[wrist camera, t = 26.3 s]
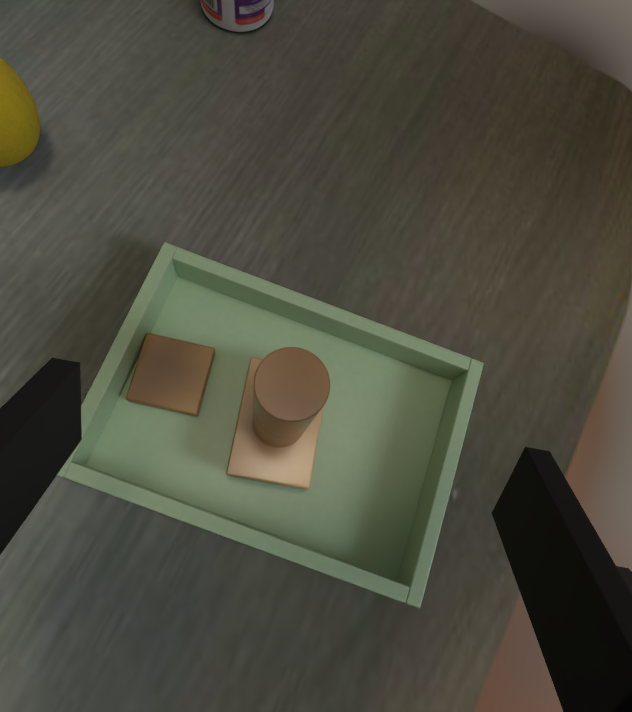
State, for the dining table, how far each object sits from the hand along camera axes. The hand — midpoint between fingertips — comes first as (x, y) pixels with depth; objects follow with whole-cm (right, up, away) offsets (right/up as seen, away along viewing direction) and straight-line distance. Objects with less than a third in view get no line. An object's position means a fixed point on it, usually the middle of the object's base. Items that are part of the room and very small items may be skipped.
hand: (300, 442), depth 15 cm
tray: (-2, -1, +15) cm, 15 cm away
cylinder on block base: (-2, -2, +14) cm, 14 cm away
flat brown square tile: (-8, +1, +14) cm, 16 cm away
